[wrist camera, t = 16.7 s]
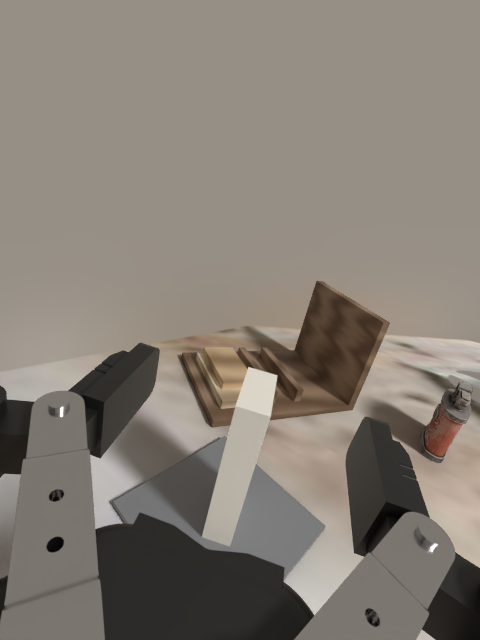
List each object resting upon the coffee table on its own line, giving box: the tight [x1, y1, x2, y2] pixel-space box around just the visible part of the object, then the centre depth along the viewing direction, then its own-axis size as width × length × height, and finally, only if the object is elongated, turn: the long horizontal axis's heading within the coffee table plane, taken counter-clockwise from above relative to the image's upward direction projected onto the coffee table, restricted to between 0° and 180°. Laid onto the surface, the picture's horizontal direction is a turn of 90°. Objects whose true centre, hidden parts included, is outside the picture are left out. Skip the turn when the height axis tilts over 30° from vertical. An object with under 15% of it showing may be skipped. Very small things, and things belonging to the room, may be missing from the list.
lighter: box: [420, 381, 473, 463], centre depth 46 cm, size 8×3×10 cm, turn 147°
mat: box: [113, 436, 325, 579], centre depth 31 cm, size 14×14×1 cm
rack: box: [182, 281, 390, 427], centre depth 50 cm, size 16×23×15 cm
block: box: [202, 367, 278, 547], centre depth 28 cm, size 6×2×14 cm, turn 169°
